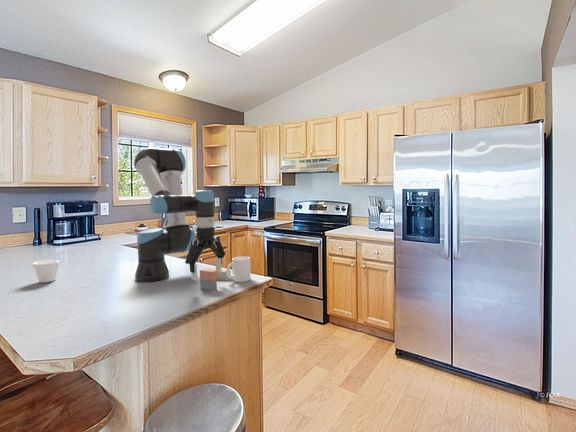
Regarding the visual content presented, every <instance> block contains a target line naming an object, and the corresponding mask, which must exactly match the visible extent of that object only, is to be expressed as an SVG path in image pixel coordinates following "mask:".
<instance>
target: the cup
mask: <svg viewBox="0 0 576 432" xmlns="http://www.w3.org/2000/svg"><path fill="white" fill-rule="evenodd" d="M59 264H60V260H58V259H44V260H39V261H34V262H33V263H32V268H33V269H34V271H35V274H36V277H37V280H38V284H39V283H40V284H47V283H53V282H54V281H56V279H57V274H58V268H59Z"/></svg>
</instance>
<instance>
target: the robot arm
mask: <svg viewBox="0 0 576 432" xmlns="http://www.w3.org/2000/svg"><path fill="white" fill-rule="evenodd" d="M133 163H134V168H135V170H136V172H137V173H138V174H139V175H141V178H142V179H143V182H144V184H145V185H146V187H147V189H148V191H149V194H150V195H151V197H150V201H149V202H150V203H149V204H150V205H149V206H150V210H151V212H152V213H153V214H155V215H157V214H161V215H162V214H164V215H165V214H166V218H167V225H165V230H164V228H161V227H157V228H149V229H146V230H145V229H144V230H142V231H140V232H138V233H137V242H136V244H137V258H138V262H137V263H138V264H137V267H136V271H135V274H134V280H135V281H137V282H142V283H146V282H148V283H149V282H151V283H152V282H156V281H163V280H166V279H168V278H169V277H170V270H169V267H168V266H167V263H166V259H165V255H170V254H171V255H172V254H179V253H186V252H188V253H187V255H186V258H185V264H186V265H187V264H188V265H189V273H190V274H191V275H190V276H191V280H193V281H198V264H196V263H197V262H198V259H199V257H200V255H201V254H202V252H204V250H207V249H210V250H211V251H212V253H213V254H214V255H215V256H216V257H215V270H218V273H221V270H222V265H223V258H224V257H225V256H226V252H225V250H224V247H223V245H222V242H221V238H220V236H219V235H216V232H215V231H216V229H215V197H214V192H213V190H211V189H209V190H205V189H204V190H196V191H195V194H183V190H182V182H181V181H182V180H181V176H182V175H183V172H184V171H186V158H185V155H184V154H183V151H181V150H180V149H176V148H167V147H166V148H162V147H144V148H143V149H142V150H140V151H138V152H137V154H136V155H135V157H134V162H133ZM190 212H191V213H195V226H196V230H195V229H194V228H191V227H190V223H188V222H187V219H186V213H190ZM195 231H196V233H195ZM196 237H197V239H196Z"/></svg>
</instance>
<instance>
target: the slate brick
mask: <svg viewBox="0 0 576 432" xmlns="http://www.w3.org/2000/svg"><path fill="white" fill-rule="evenodd" d="M217 283H218V282H217V280H215V281H207V280H200V279H199V287H200V289H202V290H206V291H208V292H212V291H216V290H218V286H217V285H218V284H217Z"/></svg>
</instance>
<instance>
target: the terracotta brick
mask: <svg viewBox="0 0 576 432" xmlns="http://www.w3.org/2000/svg"><path fill="white" fill-rule="evenodd" d="M200 280H207V281H215V280H219V279H218V270H216V269H214V268H212V269H211V268H202V269H200V270H199V281H200Z"/></svg>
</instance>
